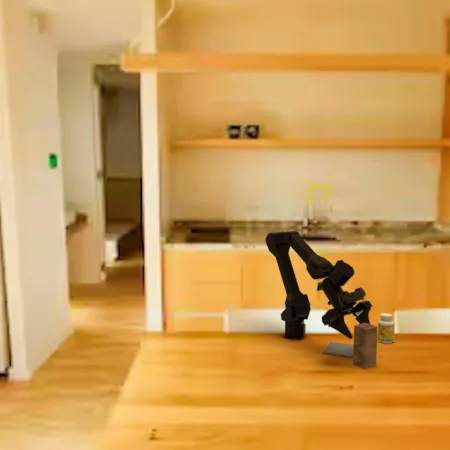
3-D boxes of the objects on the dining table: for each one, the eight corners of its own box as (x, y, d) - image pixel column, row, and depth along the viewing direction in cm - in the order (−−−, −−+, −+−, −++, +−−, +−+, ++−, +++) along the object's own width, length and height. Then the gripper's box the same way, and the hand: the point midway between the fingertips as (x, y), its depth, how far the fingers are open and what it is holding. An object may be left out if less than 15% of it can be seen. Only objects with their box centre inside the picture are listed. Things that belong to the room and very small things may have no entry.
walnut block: (353, 364, 185) (354, 325, 183) (363, 360, 188) (364, 322, 186) (365, 368, 181) (366, 329, 179) (376, 365, 184) (377, 326, 182)
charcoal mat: (322, 353, 194) (322, 351, 194) (330, 343, 204) (330, 341, 204) (356, 358, 190) (356, 356, 190) (362, 347, 200) (362, 345, 200)
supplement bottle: (396, 342, 205) (397, 315, 204) (385, 344, 202) (386, 317, 201) (386, 337, 210) (386, 311, 208) (374, 340, 207) (375, 313, 206)
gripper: (328, 284, 181) (356, 327, 174) (368, 276, 192) (395, 316, 185) (310, 304, 188) (335, 346, 181) (349, 295, 199) (374, 334, 192)
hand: (361, 335), depth 184 cm, fingers open, 9 cm apart
